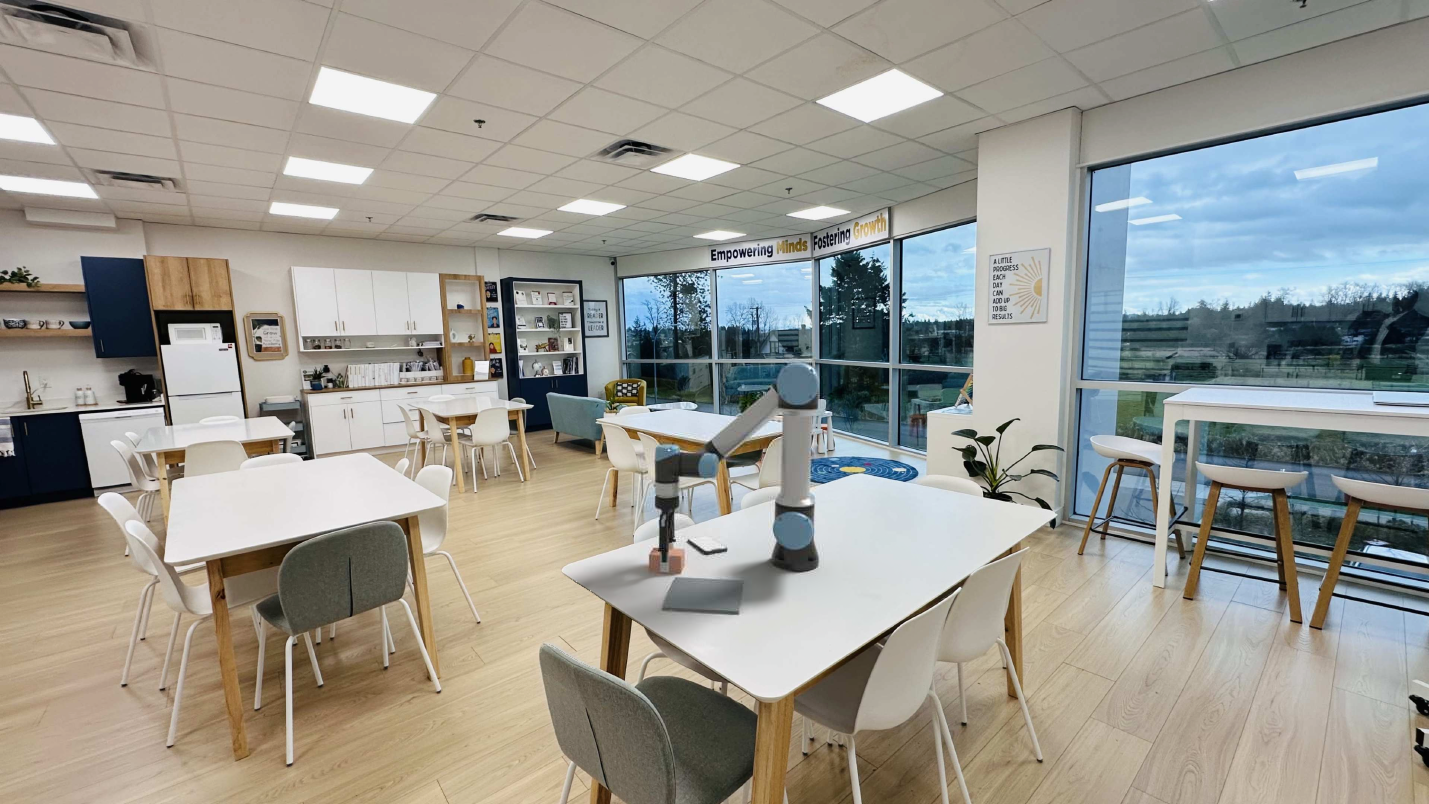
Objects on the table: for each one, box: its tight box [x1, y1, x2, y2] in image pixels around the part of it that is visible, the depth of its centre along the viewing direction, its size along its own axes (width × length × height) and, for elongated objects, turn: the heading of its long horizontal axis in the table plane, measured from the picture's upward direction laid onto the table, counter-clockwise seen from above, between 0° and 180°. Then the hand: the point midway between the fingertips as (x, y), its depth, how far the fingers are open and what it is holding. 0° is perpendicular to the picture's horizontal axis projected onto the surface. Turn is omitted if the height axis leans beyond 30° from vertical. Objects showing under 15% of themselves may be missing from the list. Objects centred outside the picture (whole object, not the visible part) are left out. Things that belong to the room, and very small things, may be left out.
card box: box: [648, 547, 686, 575], centre depth 174 cm, size 10×6×6 cm, turn 83°
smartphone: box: [687, 535, 728, 556], centre depth 195 cm, size 9×2×16 cm
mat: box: [662, 576, 744, 615], centre depth 155 cm, size 20×20×1 cm
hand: (667, 567), depth 174 cm, fingers closed on card box, 6 cm apart
